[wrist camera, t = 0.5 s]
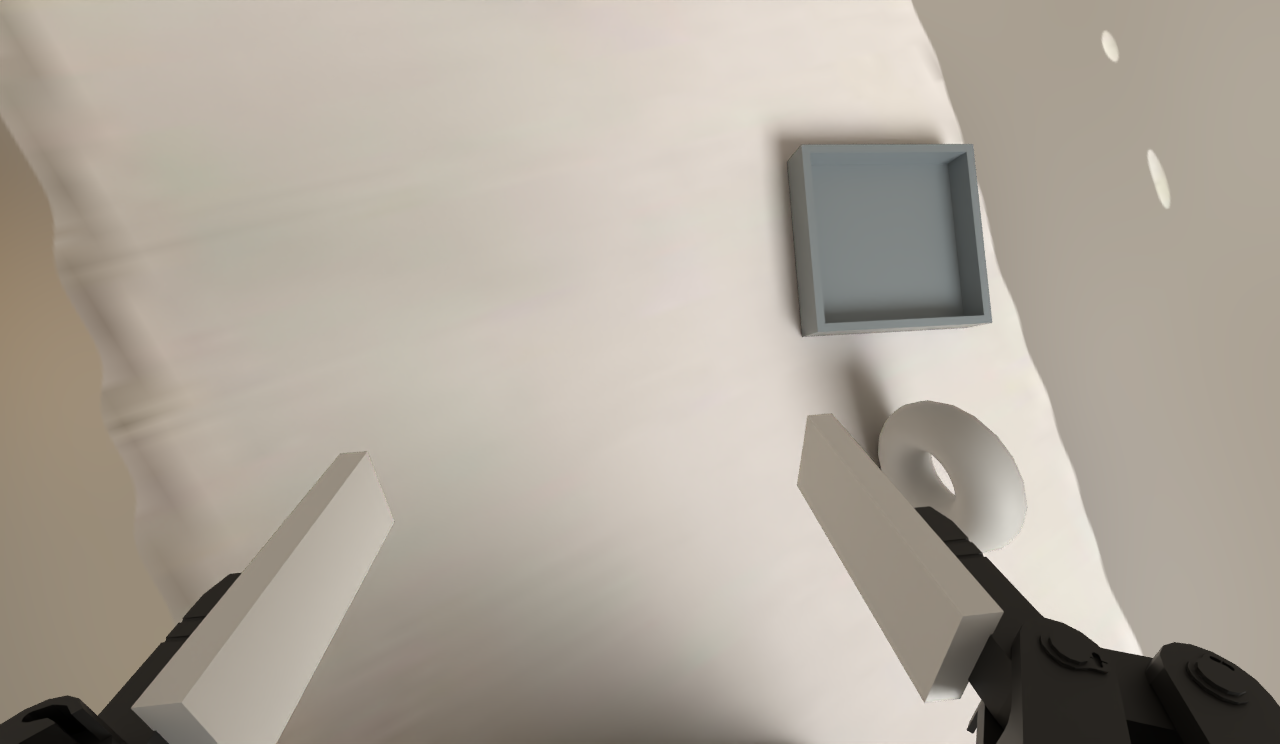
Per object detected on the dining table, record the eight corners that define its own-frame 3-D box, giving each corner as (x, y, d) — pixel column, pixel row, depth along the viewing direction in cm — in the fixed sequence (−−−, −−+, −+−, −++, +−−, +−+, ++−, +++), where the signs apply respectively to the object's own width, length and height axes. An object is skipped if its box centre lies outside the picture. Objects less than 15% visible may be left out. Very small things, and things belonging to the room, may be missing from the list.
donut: (930, 520, 35) (1066, 568, 25) (890, 534, 34) (1012, 589, 24) (893, 394, 35) (1013, 393, 25) (853, 407, 35) (959, 410, 25)
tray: (965, 327, 36) (992, 322, 34) (802, 336, 34) (817, 332, 32) (948, 160, 37) (972, 144, 34) (787, 161, 35) (801, 144, 33)
